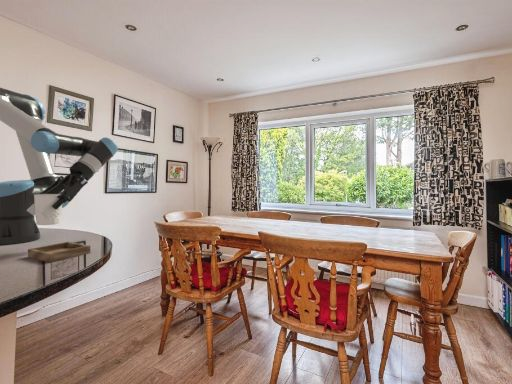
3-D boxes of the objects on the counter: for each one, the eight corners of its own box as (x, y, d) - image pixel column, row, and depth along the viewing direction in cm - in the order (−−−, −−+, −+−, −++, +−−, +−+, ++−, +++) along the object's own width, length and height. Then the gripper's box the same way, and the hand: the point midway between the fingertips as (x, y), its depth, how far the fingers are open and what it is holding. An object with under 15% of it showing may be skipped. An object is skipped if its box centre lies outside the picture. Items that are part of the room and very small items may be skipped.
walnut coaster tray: (27, 257, 85) (27, 249, 84) (68, 248, 95) (68, 241, 95) (50, 262, 80) (50, 254, 79) (90, 252, 90) (90, 245, 90)
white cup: (47, 226, 89) (47, 196, 89) (27, 224, 91) (27, 194, 90) (68, 222, 97) (68, 194, 97) (49, 221, 99) (50, 193, 98)
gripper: (109, 176, 103) (64, 224, 89) (75, 174, 111) (29, 218, 98) (96, 161, 98) (46, 209, 84) (62, 160, 106) (11, 204, 92)
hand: (37, 214), depth 91 cm, fingers closed on white cup, 8 cm apart
